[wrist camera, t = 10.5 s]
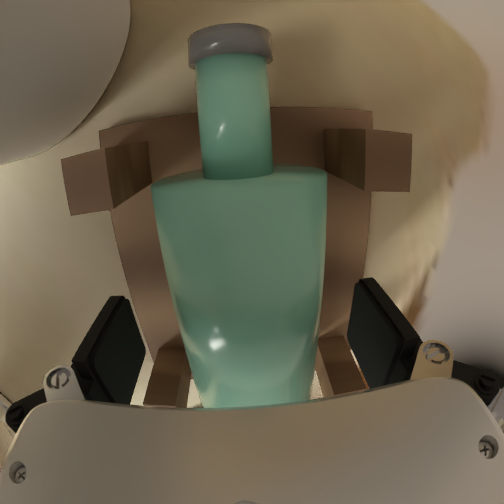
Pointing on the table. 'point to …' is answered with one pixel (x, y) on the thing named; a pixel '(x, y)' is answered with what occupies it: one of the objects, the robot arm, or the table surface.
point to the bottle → (243, 235)
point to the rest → (189, 158)
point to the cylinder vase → (54, 68)
